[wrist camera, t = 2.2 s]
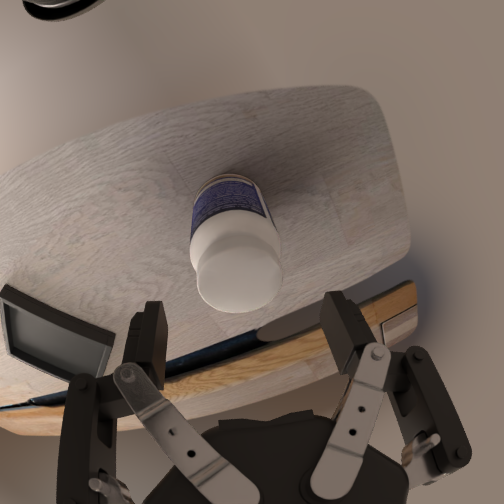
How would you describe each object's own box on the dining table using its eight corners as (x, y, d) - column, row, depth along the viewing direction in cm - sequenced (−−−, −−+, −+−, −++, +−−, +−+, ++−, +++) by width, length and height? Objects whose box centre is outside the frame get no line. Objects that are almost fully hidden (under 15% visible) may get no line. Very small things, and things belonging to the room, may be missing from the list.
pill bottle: (179, 208, 23) (165, 289, 15) (226, 157, 21) (238, 214, 13) (231, 246, 26) (243, 333, 18) (277, 202, 24) (314, 277, 16)
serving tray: (11, 344, 30) (7, 354, 28) (5, 283, 24) (-3, 295, 23) (99, 382, 36) (97, 393, 34) (115, 333, 30) (112, 347, 29)
